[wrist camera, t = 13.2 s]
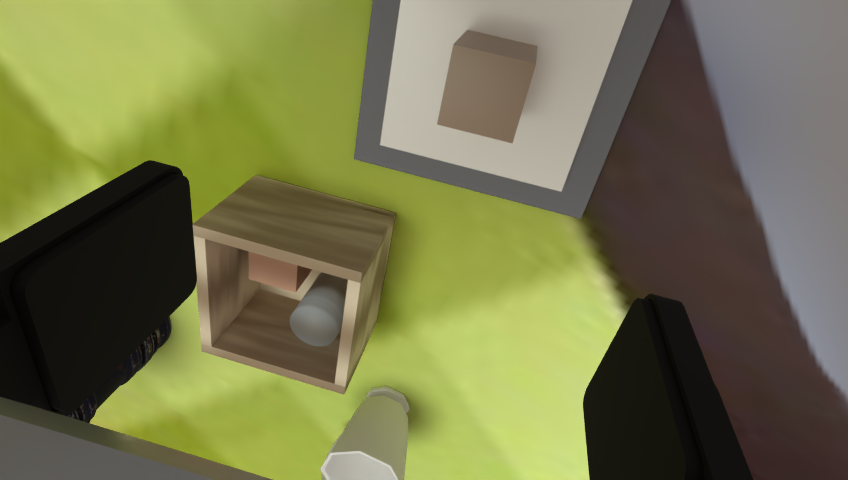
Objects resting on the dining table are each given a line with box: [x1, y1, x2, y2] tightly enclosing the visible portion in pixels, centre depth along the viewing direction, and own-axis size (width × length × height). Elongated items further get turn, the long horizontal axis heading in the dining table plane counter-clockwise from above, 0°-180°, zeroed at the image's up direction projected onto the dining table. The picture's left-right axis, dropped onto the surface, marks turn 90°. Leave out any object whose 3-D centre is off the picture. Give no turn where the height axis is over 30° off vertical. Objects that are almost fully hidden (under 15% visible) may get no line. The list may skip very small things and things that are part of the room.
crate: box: [193, 175, 396, 394], centre depth 36 cm, size 11×11×8 cm
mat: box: [354, 0, 671, 219], centre depth 30 cm, size 16×16×1 cm
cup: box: [320, 386, 410, 480], centre depth 44 cm, size 7×10×8 cm
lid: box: [380, 0, 632, 192], centre depth 27 cm, size 12×12×6 cm
